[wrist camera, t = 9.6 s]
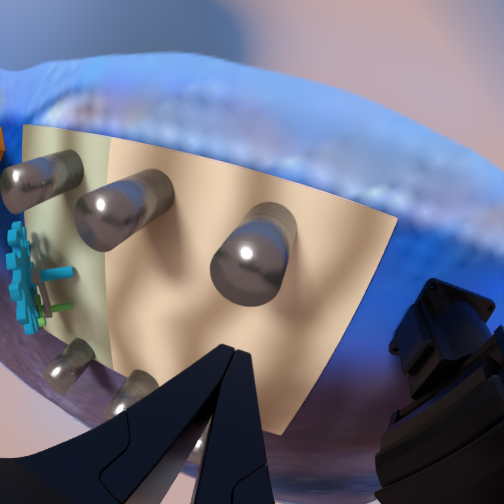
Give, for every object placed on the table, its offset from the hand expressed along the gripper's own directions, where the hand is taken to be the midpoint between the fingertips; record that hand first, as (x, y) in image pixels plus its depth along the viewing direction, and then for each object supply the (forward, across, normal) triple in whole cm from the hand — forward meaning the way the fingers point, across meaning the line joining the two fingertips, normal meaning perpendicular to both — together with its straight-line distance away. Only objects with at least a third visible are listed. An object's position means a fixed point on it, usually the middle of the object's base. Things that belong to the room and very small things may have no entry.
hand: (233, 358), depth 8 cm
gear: (+12, +20, +11) cm, 26 cm away
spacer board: (+12, +9, +10) cm, 18 cm away
